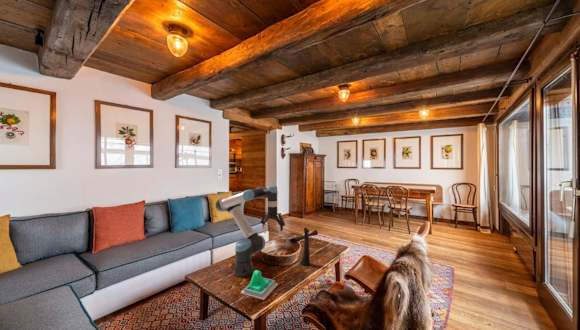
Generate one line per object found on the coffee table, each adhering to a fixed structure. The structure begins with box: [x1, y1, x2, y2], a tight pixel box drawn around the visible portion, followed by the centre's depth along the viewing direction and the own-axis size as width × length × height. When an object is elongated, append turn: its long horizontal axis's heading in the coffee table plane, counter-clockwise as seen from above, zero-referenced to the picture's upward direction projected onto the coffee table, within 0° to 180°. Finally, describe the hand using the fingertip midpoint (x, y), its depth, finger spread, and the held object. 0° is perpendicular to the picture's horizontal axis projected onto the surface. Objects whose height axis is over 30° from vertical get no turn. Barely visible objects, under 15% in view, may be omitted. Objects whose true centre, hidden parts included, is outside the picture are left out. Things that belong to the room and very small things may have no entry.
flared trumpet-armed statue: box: [289, 227, 319, 267], centre depth 185 cm, size 31×10×30 cm, turn 135°
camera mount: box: [248, 269, 269, 291], centre depth 150 cm, size 12×8×10 cm, turn 145°
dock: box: [240, 276, 279, 301], centre depth 149 cm, size 17×18×3 cm
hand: (272, 233), depth 173 cm, fingers open, 13 cm apart
